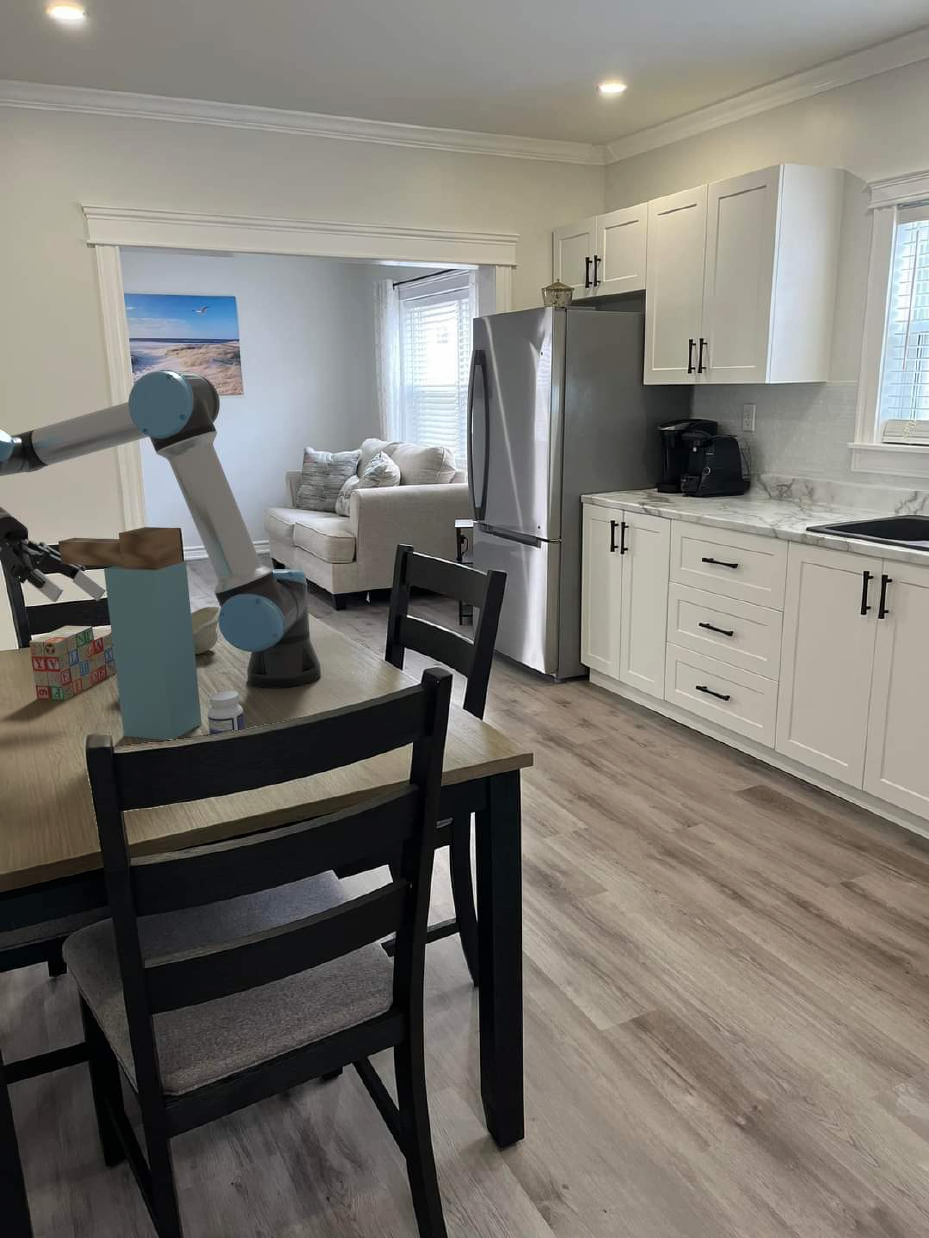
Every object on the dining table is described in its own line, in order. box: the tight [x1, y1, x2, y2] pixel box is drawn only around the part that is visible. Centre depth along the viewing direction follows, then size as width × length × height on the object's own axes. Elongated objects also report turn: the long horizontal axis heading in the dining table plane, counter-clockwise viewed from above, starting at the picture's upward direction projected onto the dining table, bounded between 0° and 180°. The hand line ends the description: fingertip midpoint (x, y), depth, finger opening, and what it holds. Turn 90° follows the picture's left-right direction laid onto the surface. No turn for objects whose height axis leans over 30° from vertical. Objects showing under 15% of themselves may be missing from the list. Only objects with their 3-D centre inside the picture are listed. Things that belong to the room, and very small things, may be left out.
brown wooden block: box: [57, 526, 183, 570], centre depth 161 cm, size 21×7×6 cm, turn 72°
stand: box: [103, 560, 203, 741], centre depth 163 cm, size 10×9×30 cm
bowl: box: [191, 606, 221, 655], centre depth 215 cm, size 15×14×10 cm
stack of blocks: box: [29, 625, 116, 701], centre depth 194 cm, size 21×6×12 cm, turn 169°
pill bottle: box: [207, 690, 246, 735], centre depth 155 cm, size 6×6×10 cm
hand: (81, 595), depth 175 cm, fingers open, 13 cm apart
